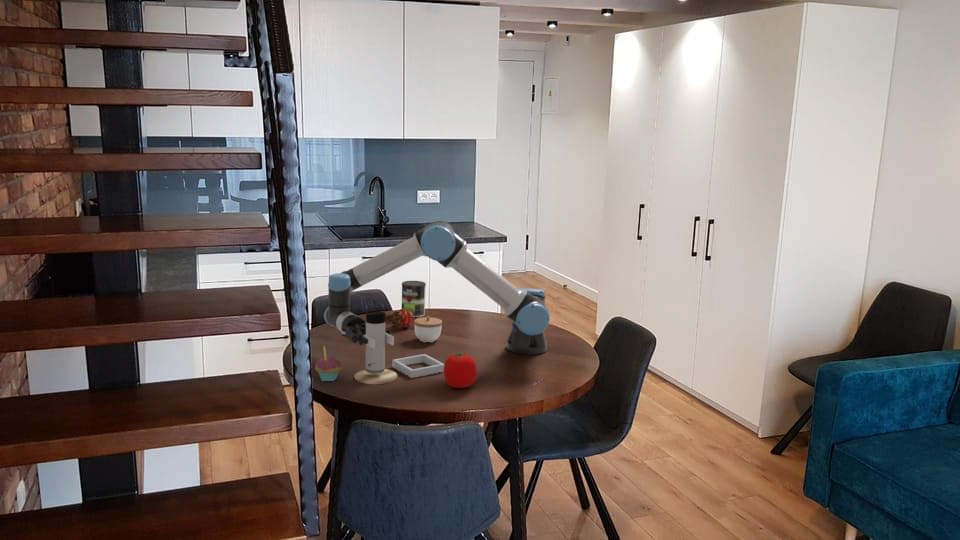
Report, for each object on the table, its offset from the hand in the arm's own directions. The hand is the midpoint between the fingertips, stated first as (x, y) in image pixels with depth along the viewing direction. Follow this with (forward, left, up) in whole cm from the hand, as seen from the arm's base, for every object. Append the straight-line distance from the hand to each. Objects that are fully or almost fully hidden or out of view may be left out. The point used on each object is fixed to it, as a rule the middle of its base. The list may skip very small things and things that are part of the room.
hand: (383, 342), depth 235 cm
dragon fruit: (+32, -56, -13) cm, 65 cm away
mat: (+5, -2, -13) cm, 14 cm away
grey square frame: (-2, -17, -13) cm, 21 cm away
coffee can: (+40, -75, -13) cm, 86 cm away
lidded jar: (+14, -47, -13) cm, 50 cm away
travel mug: (+5, -2, -11) cm, 12 cm away
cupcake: (+16, +8, -13) cm, 22 cm away
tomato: (-22, -11, -13) cm, 28 cm away
